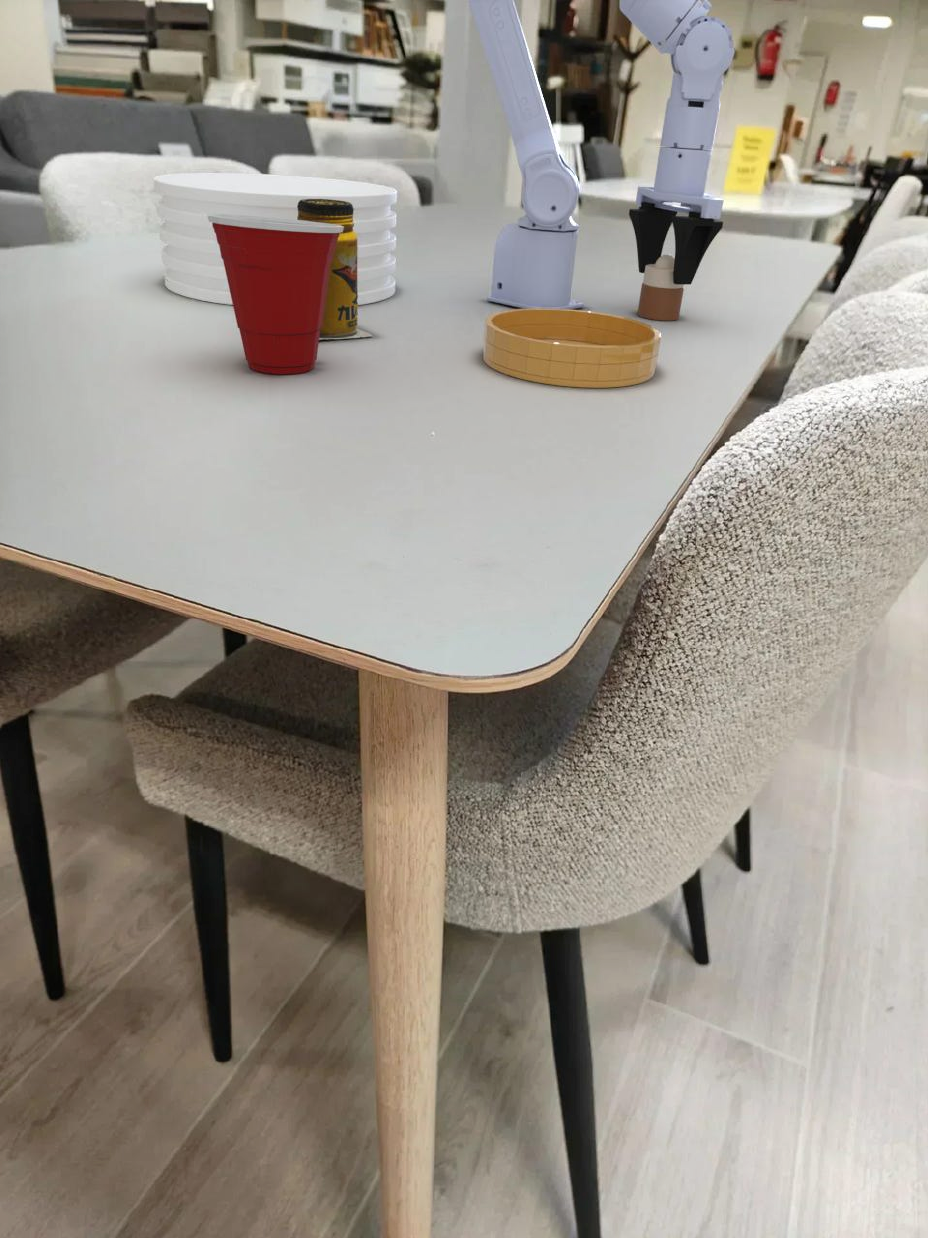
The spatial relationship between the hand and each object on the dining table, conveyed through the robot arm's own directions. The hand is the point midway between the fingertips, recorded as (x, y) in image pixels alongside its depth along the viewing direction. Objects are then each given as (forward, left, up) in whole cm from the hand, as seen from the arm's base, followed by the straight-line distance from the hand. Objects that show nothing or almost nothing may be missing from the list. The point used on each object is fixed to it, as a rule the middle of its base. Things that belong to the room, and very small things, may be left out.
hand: (664, 278), depth 102 cm
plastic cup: (-8, -51, -5) cm, 52 cm away
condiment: (-16, -40, -5) cm, 43 cm away
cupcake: (0, 0, -4) cm, 4 cm away
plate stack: (-38, -27, -5) cm, 47 cm away
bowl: (+7, -29, -4) cm, 30 cm away
